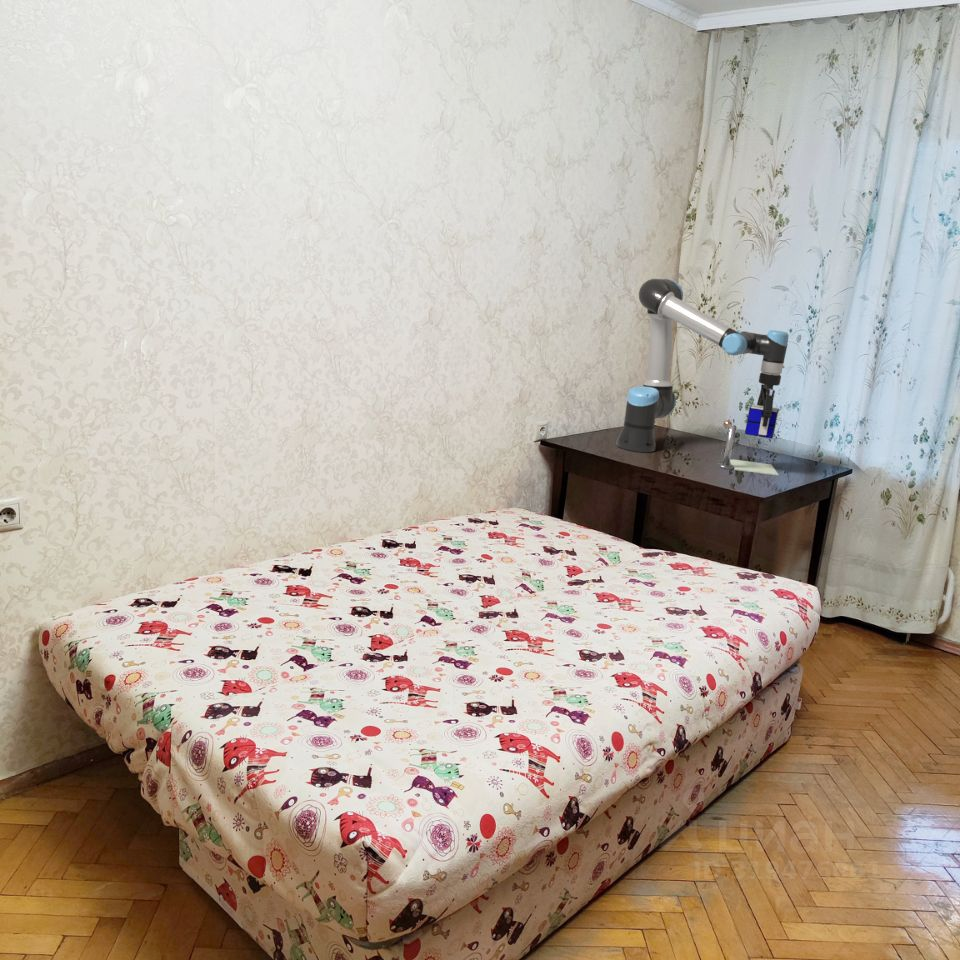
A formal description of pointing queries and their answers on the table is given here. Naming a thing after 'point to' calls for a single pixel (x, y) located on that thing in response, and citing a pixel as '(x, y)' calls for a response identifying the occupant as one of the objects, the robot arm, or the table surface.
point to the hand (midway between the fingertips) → (759, 431)
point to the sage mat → (753, 467)
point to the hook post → (728, 446)
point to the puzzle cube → (755, 421)
